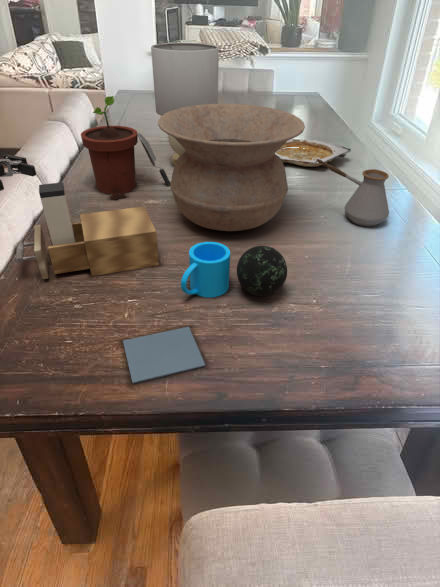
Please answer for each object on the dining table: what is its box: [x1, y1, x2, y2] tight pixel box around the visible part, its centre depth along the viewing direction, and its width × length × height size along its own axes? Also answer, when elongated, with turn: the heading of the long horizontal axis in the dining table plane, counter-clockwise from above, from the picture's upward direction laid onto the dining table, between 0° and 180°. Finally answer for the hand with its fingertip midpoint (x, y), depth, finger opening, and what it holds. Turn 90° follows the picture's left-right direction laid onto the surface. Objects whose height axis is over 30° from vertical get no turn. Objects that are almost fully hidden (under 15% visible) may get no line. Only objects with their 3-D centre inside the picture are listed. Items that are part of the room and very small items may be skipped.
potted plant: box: [80, 95, 171, 201], centre depth 118 cm, size 18×22×25 cm
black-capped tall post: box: [38, 181, 76, 246], centre depth 86 cm, size 4×4×16 cm
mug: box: [180, 241, 231, 298], centre depth 83 cm, size 12×8×8 cm
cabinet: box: [79, 205, 160, 277], centre depth 92 cm, size 15×13×9 cm
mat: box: [122, 326, 206, 385], centre depth 70 cm, size 12×10×1 cm
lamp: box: [150, 41, 220, 167], centre depth 133 cm, size 20×20×35 cm
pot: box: [157, 103, 306, 232], centre depth 104 cm, size 34×34×25 cm
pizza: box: [275, 138, 352, 168], centre depth 149 cm, size 32×4×23 cm
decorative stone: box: [236, 245, 288, 297], centre depth 82 cm, size 10×10×10 cm
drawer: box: [15, 221, 90, 280], centre depth 89 cm, size 18×11×7 cm, turn 109°
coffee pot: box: [314, 159, 390, 227], centre depth 108 cm, size 21×12×15 cm, turn 74°
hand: (18, 178), depth 84 cm, fingers open, 8 cm apart
